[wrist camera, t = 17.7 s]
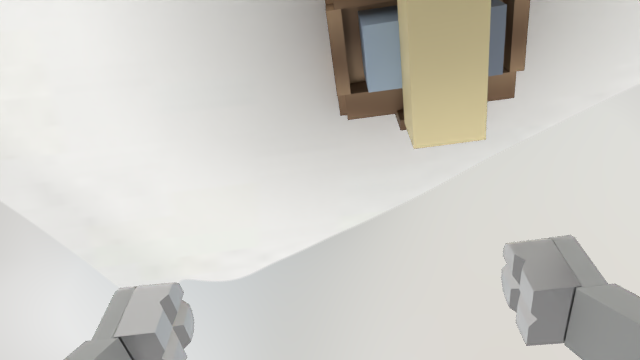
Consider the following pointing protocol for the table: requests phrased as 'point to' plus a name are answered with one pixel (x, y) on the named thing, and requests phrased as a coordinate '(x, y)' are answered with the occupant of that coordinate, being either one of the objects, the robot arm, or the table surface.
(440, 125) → the pale yellow block
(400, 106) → the frame
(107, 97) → the table surface
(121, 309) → the robot arm
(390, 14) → the blue-grey block
